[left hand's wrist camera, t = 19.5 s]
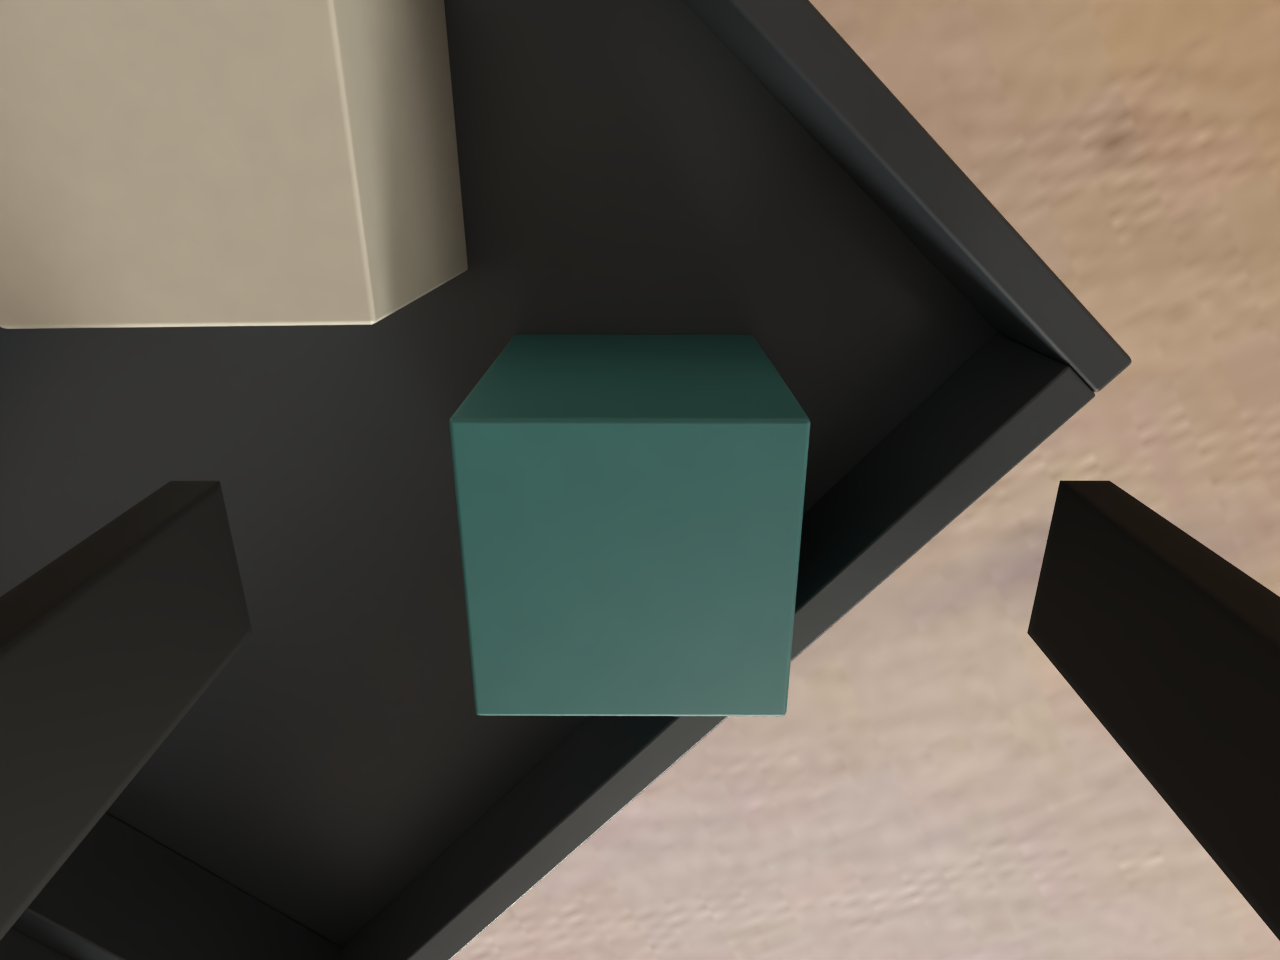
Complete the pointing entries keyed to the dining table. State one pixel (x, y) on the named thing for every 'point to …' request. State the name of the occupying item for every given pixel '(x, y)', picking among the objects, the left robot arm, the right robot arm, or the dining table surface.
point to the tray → (424, 477)
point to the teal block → (630, 526)
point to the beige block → (224, 162)
